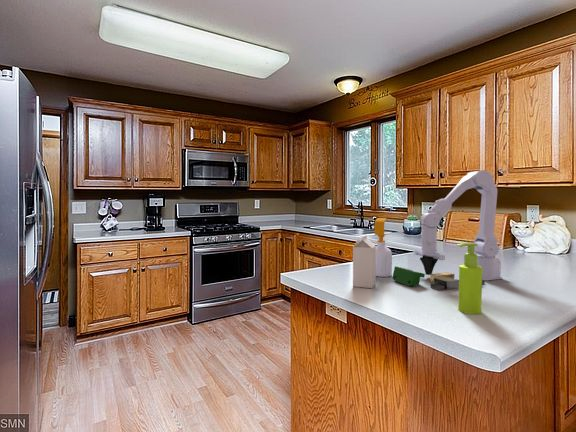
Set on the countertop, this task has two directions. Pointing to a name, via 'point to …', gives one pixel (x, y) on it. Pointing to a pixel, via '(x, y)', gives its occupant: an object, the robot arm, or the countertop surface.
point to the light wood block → (442, 276)
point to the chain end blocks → (446, 284)
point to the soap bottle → (382, 251)
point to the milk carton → (364, 263)
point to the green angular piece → (407, 276)
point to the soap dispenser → (470, 282)
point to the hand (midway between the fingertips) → (428, 274)
